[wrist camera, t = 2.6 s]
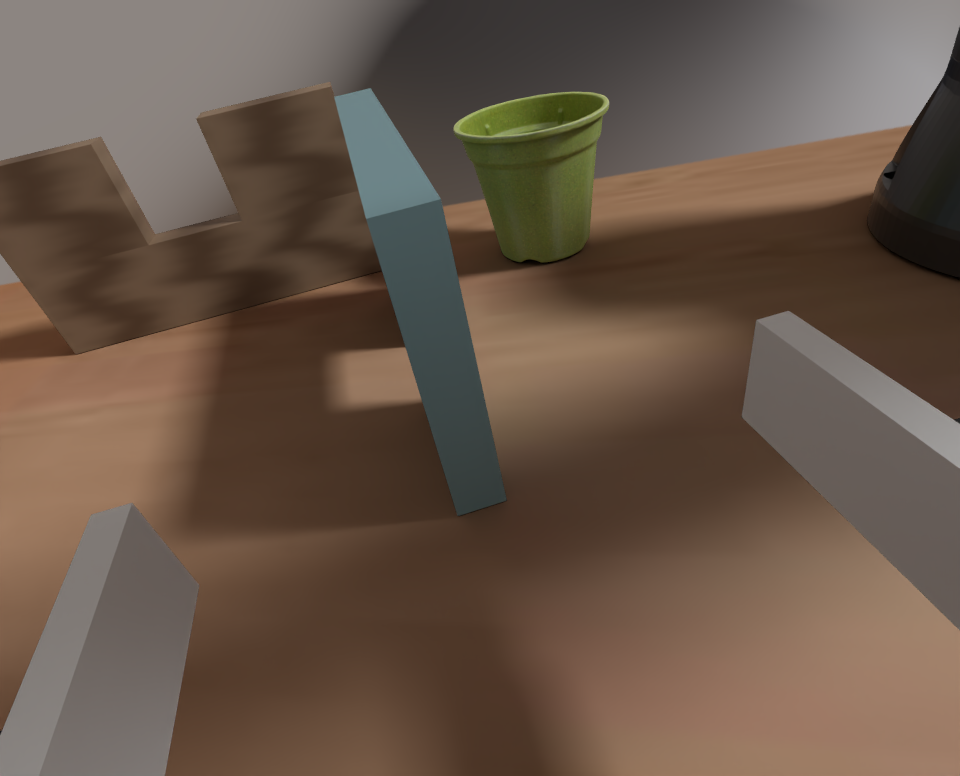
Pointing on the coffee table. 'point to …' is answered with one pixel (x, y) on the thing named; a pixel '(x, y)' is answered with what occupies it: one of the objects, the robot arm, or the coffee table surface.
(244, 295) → the walnut board
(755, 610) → the coffee table surface
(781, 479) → the coffee table surface
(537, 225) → the plant pot
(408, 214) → the slotted plate
